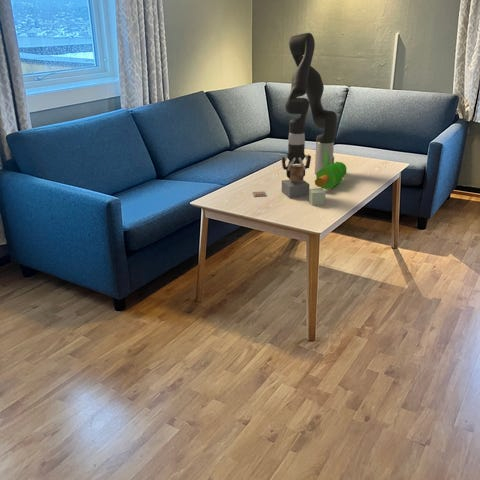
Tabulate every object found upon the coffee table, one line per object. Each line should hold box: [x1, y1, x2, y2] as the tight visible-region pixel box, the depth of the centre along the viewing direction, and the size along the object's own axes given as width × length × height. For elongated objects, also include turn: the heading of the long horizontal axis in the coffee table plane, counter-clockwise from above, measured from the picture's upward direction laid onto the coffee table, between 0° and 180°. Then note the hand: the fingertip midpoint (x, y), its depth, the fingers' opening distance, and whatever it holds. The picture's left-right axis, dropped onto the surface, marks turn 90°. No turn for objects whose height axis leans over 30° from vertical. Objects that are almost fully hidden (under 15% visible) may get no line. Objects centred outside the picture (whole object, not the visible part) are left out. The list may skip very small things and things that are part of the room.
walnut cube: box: [288, 164, 304, 181], centre depth 249 cm, size 6×6×6 cm
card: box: [252, 190, 268, 198], centre depth 253 cm, size 6×6×1 cm
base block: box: [281, 179, 310, 199], centre depth 252 cm, size 10×10×6 cm
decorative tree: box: [314, 161, 348, 190], centre depth 263 cm, size 11×12×30 cm
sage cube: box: [308, 187, 327, 206], centre depth 240 cm, size 6×6×6 cm
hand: (295, 177), depth 250 cm, fingers closed on walnut cube, 6 cm apart
